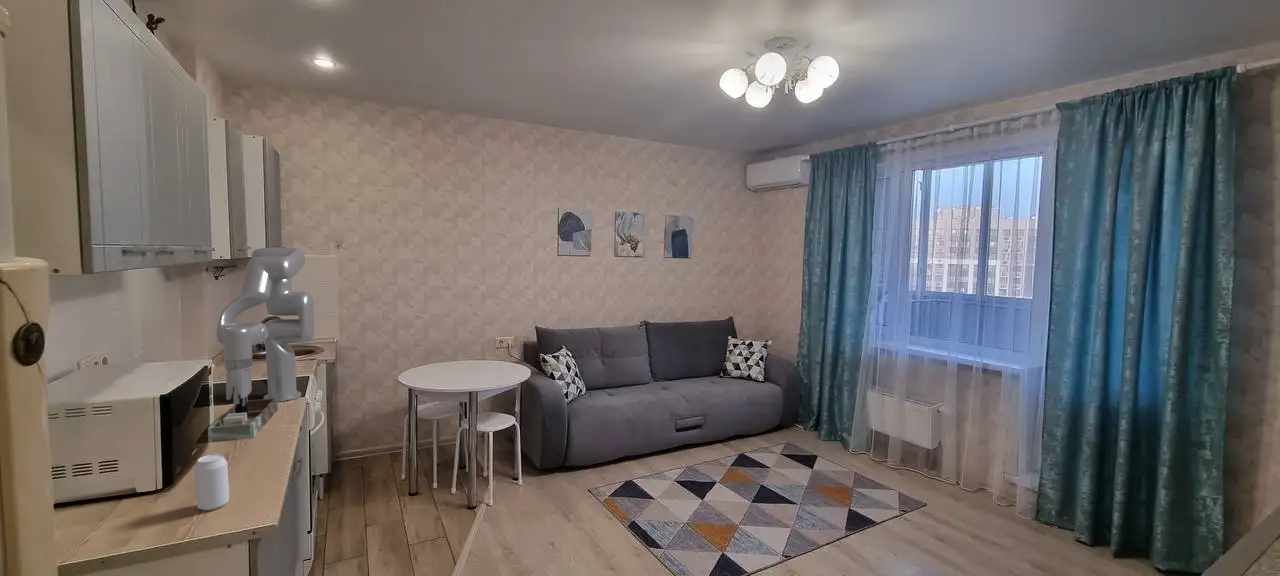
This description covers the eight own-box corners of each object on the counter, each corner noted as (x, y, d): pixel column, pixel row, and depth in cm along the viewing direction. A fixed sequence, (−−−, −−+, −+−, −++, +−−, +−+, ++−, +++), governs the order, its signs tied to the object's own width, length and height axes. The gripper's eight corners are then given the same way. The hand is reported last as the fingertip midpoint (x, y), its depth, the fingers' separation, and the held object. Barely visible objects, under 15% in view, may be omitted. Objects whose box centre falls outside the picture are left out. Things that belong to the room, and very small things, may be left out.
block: (229, 425, 179) (228, 413, 179) (247, 424, 181) (246, 412, 181) (223, 430, 175) (223, 418, 174) (242, 429, 176) (241, 417, 176)
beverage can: (222, 497, 136) (219, 451, 135) (234, 504, 133) (231, 456, 132) (192, 508, 131) (189, 459, 130) (204, 515, 128) (201, 465, 126)
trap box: (239, 413, 199) (238, 401, 199) (277, 409, 204) (277, 398, 203) (208, 442, 172) (207, 428, 171) (254, 437, 176) (253, 424, 175)
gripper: (232, 359, 187) (235, 411, 189) (217, 369, 173) (220, 426, 175) (258, 358, 190) (261, 409, 192) (245, 368, 176) (248, 423, 178)
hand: (241, 417), depth 184 cm, fingers closed
